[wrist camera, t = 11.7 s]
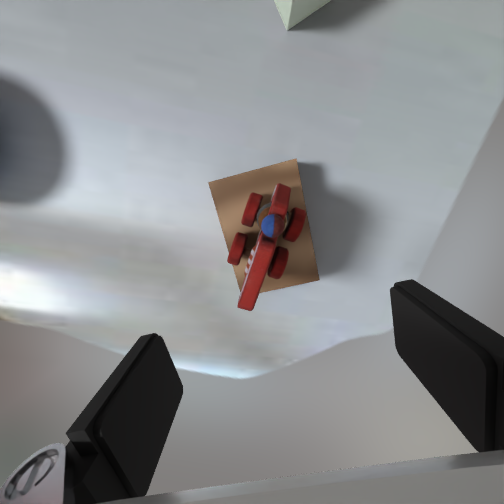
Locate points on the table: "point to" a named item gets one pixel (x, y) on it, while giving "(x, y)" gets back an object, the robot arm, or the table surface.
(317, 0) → the sage cube
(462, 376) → the robot arm
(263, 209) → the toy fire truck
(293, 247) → the tan block
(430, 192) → the table surface
